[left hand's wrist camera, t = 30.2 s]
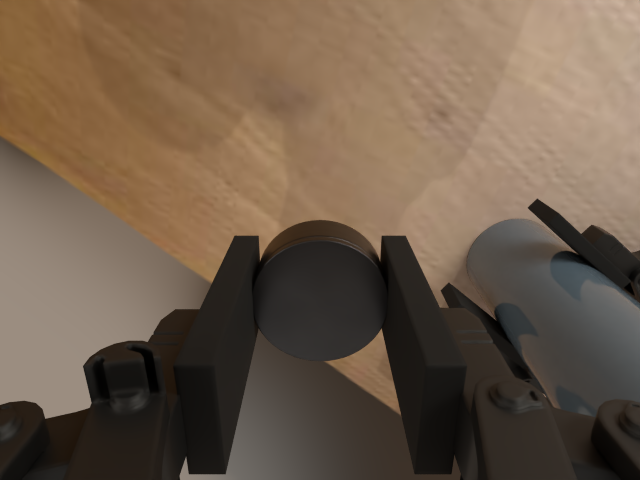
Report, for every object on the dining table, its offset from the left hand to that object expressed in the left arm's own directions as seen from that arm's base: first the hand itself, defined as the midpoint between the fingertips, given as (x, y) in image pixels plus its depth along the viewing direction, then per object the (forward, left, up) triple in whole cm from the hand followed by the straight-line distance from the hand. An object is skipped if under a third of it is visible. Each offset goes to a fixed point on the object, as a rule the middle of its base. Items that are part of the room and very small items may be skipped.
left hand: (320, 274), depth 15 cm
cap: (0, 0, +1) cm, 1 cm away
